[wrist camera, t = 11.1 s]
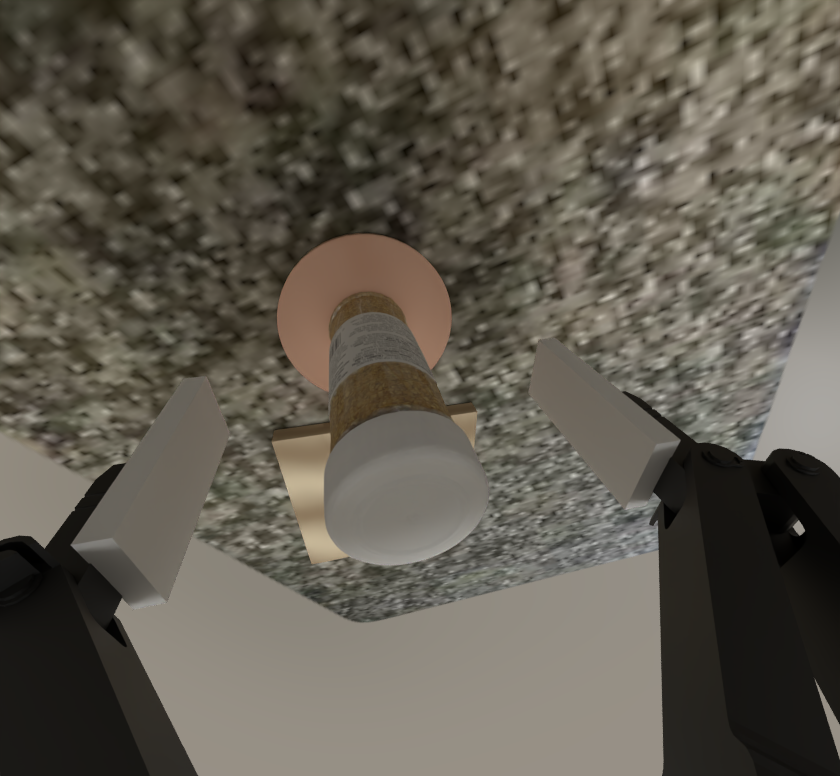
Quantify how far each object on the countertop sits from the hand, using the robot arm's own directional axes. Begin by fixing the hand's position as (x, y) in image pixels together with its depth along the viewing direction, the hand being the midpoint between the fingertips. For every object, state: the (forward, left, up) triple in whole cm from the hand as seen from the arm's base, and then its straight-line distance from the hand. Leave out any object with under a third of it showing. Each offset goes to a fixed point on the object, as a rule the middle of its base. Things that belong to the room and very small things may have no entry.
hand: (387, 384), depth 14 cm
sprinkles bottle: (0, 0, -7) cm, 7 cm away
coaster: (0, 0, -8) cm, 8 cm away
